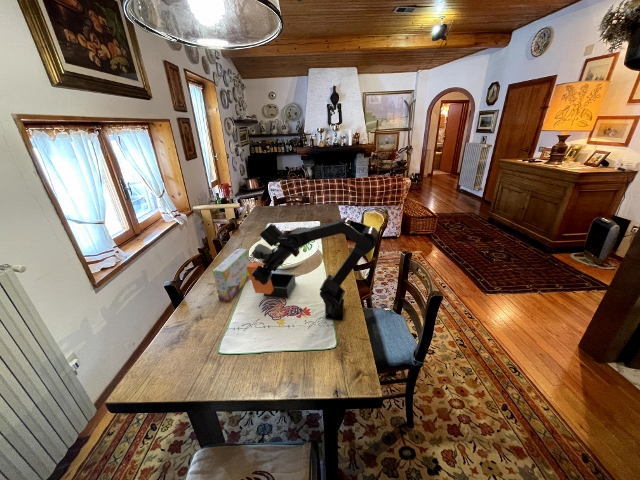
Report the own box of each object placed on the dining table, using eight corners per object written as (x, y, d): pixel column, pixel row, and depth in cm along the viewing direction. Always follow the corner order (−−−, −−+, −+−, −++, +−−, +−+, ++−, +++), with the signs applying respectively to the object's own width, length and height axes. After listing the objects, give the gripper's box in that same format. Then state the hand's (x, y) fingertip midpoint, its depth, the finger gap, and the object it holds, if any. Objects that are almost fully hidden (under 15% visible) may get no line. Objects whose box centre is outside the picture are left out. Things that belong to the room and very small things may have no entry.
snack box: (230, 302, 107) (223, 271, 101) (218, 300, 108) (211, 270, 102) (252, 275, 126) (247, 248, 120) (242, 274, 127) (236, 247, 121)
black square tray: (295, 283, 118) (294, 274, 115) (288, 298, 108) (286, 288, 106) (273, 282, 120) (272, 272, 118) (264, 296, 110) (262, 286, 108)
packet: (273, 289, 103) (265, 263, 97) (270, 294, 101) (261, 267, 95) (259, 288, 106) (250, 262, 100) (255, 292, 103) (246, 266, 97)
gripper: (273, 229, 101) (252, 253, 107) (252, 250, 84) (229, 276, 91) (294, 248, 102) (272, 270, 109) (277, 272, 86) (253, 296, 93)
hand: (257, 277), depth 100 cm, fingers closed on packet, 3 cm apart
